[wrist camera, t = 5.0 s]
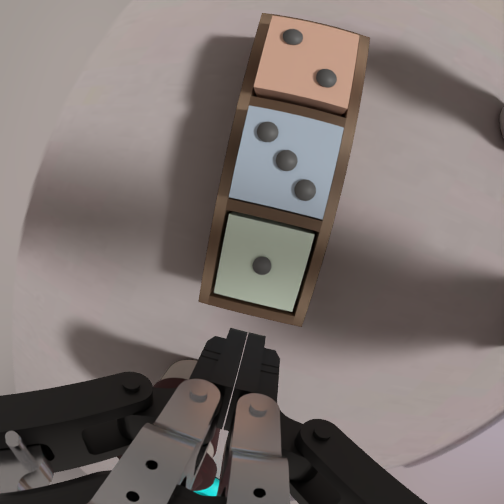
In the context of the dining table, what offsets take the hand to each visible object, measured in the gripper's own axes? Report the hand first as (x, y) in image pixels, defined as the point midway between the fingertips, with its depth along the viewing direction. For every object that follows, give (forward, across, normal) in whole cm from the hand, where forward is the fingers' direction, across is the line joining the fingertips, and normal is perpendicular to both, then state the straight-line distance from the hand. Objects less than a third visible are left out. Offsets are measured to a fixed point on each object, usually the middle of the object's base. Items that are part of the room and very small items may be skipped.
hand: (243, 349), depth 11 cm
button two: (+12, 0, -16) cm, 20 cm away
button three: (+12, 0, -8) cm, 14 cm away
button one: (+13, 0, 0) cm, 13 cm away
